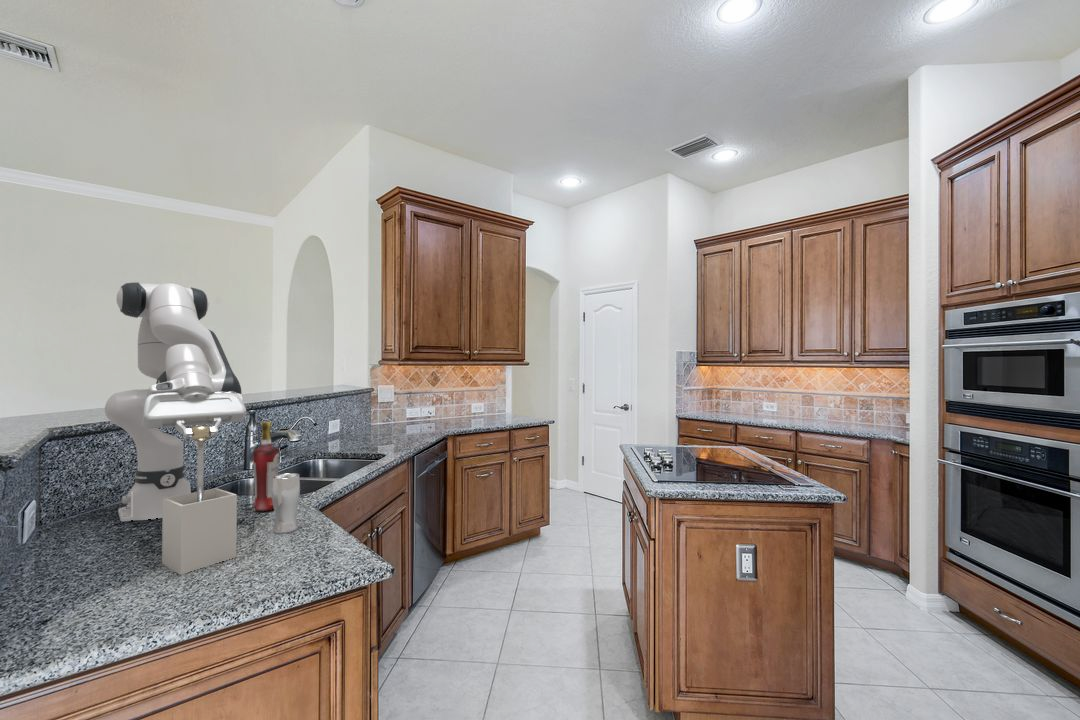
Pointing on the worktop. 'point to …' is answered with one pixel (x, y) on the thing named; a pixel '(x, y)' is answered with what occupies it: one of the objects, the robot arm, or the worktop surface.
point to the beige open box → (199, 530)
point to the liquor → (265, 470)
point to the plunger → (200, 456)
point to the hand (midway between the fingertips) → (201, 436)
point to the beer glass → (285, 501)
